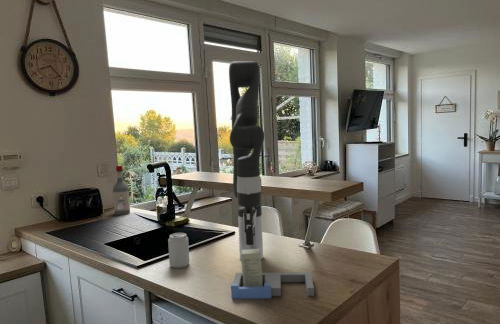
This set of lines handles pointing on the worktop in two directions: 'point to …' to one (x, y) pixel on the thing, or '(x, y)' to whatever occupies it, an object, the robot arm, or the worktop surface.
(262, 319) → the worktop surface
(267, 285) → the rail
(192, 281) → the worktop surface
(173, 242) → the can
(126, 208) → the liquor
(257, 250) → the skincare box
